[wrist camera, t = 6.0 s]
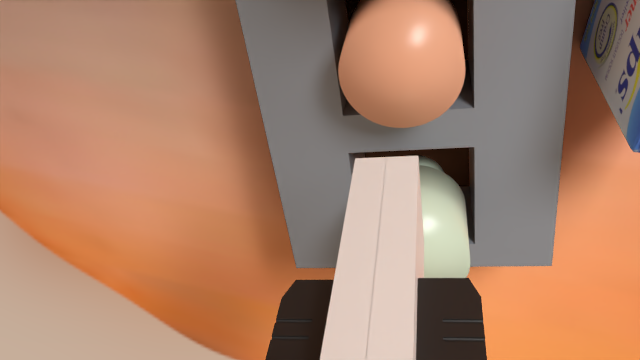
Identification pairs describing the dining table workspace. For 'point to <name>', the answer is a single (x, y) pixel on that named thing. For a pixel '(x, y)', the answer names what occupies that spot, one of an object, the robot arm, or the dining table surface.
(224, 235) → the dining table surface
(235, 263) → the dining table surface
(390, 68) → the peach egg
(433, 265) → the pale green egg
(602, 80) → the medicine box
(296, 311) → the robot arm
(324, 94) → the grey slotted tray
